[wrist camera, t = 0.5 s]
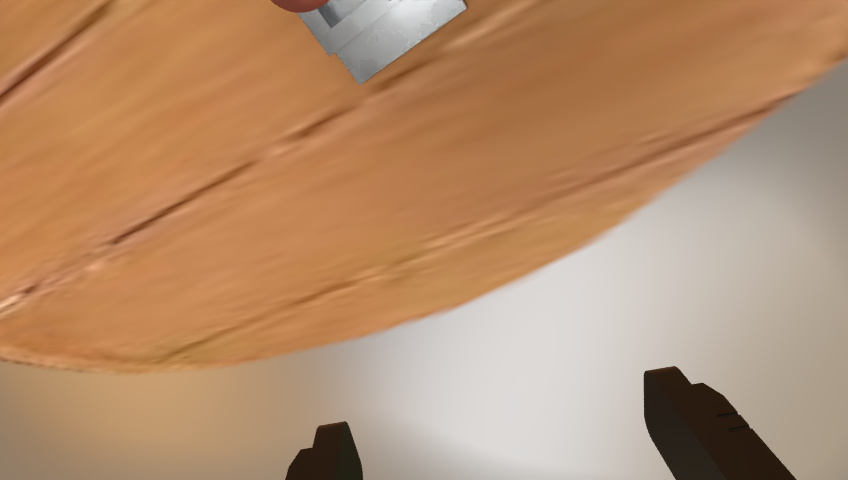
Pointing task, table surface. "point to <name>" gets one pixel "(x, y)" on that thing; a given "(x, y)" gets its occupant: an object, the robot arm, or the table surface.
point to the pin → (300, 5)
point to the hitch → (376, 29)
